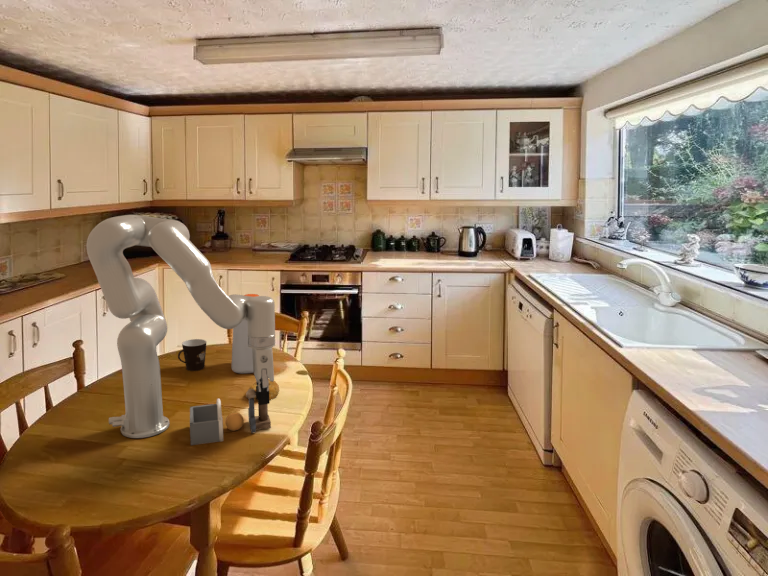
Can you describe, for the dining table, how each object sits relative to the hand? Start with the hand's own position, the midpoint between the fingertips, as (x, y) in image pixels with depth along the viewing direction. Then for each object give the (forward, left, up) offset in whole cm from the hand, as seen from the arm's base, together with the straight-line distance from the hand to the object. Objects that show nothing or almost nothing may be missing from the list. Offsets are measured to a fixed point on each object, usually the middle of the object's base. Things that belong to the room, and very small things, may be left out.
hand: (262, 400), depth 150 cm
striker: (-1, 0, -8) cm, 8 cm away
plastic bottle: (+2, +50, -8) cm, 51 cm away
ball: (-8, 0, -5) cm, 10 cm away
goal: (-16, 0, -8) cm, 17 cm away
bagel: (+2, +22, -8) cm, 24 cm away
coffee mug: (-20, +54, -8) cm, 58 cm away
